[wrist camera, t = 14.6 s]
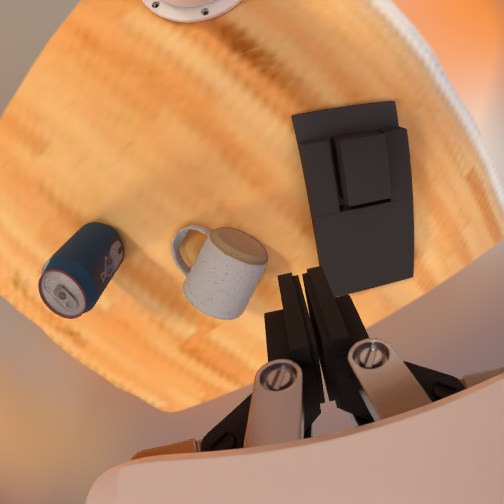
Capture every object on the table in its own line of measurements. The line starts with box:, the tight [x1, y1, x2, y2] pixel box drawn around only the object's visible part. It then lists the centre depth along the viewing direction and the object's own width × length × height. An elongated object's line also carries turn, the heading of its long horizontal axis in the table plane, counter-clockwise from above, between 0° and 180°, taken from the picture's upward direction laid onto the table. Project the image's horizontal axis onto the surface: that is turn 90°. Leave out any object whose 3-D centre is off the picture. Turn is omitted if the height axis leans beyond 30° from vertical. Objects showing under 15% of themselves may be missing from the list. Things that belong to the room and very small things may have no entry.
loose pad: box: [331, 130, 392, 206], centre depth 32 cm, size 7×5×4 cm
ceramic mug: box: [171, 225, 268, 320], centre depth 36 cm, size 11×8×8 cm
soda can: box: [38, 222, 124, 319], centre depth 33 cm, size 7×7×12 cm
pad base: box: [292, 101, 414, 297], centre depth 35 cm, size 22×12×3 cm, turn 13°
